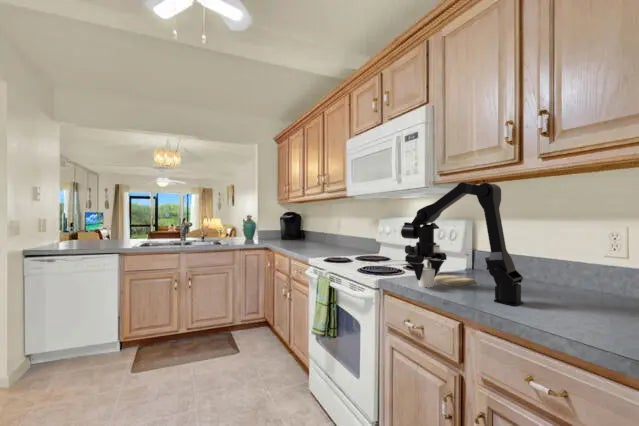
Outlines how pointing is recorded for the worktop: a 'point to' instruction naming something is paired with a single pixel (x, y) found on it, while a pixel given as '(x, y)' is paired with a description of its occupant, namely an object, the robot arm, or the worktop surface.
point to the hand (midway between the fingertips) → (426, 278)
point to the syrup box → (427, 263)
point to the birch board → (453, 280)
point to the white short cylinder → (427, 278)
